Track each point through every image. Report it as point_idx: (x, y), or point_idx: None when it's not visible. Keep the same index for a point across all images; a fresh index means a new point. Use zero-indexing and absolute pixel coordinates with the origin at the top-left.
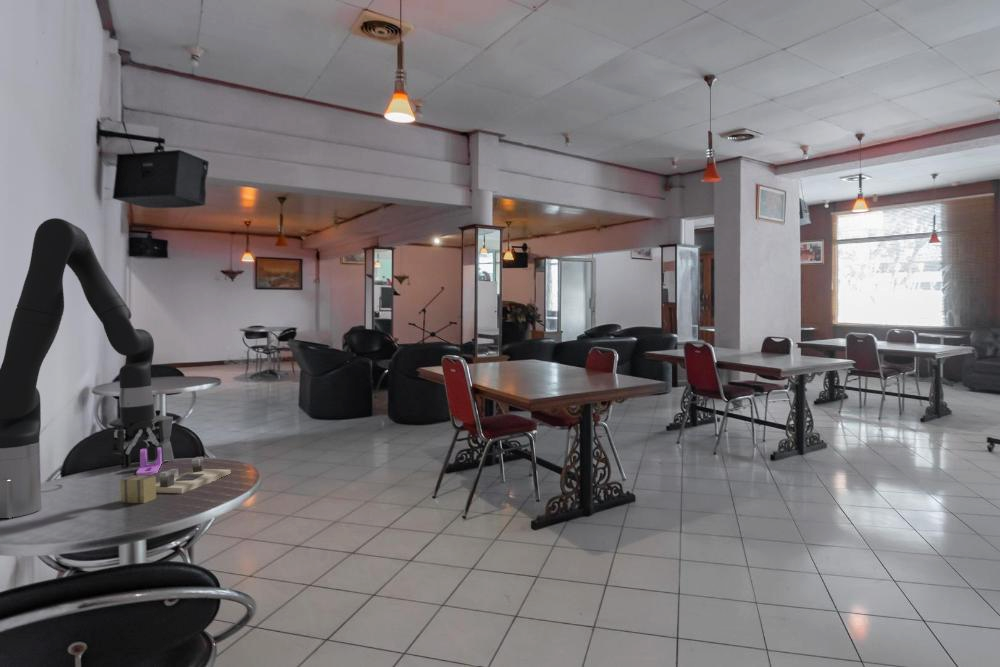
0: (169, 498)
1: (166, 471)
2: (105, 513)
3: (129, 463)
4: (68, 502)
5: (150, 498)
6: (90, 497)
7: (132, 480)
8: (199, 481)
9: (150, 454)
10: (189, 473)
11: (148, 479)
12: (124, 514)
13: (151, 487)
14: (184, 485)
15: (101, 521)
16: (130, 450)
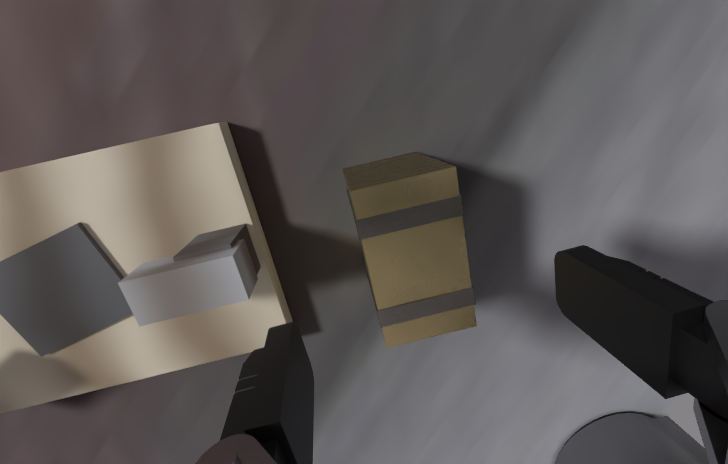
0: (313, 102)
1: (201, 295)
2: (566, 173)
3: (598, 260)
4: (489, 441)
5: (380, 161)
6: (424, 438)
7: (465, 247)
8: (70, 156)
9: (305, 394)
10: (16, 375)
11: (410, 176)
12: (564, 67)
13: (380, 171)
14: (176, 161)
15: (657, 70)
16: (721, 336)
